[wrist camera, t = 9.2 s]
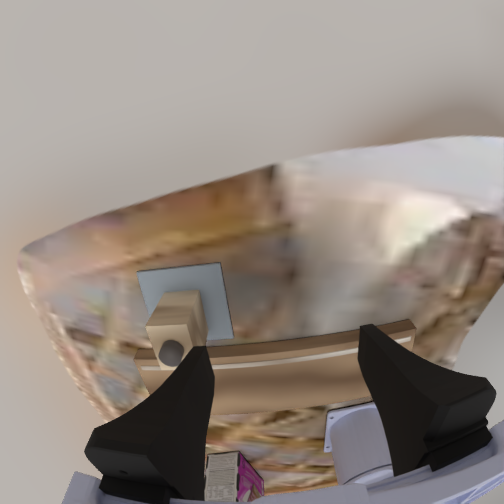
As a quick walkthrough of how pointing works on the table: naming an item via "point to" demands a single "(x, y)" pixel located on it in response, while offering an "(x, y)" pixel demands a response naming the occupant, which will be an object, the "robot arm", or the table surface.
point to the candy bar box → (231, 479)
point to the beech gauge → (177, 327)
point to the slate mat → (192, 278)
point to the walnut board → (282, 371)
